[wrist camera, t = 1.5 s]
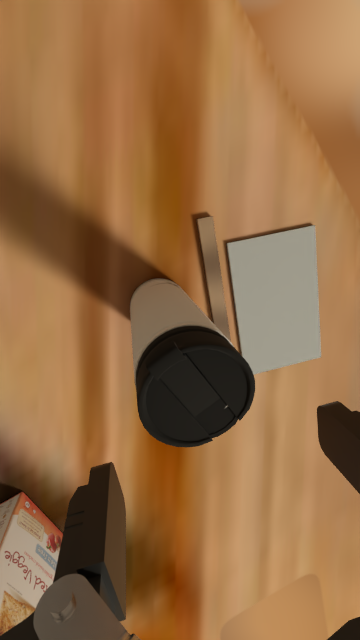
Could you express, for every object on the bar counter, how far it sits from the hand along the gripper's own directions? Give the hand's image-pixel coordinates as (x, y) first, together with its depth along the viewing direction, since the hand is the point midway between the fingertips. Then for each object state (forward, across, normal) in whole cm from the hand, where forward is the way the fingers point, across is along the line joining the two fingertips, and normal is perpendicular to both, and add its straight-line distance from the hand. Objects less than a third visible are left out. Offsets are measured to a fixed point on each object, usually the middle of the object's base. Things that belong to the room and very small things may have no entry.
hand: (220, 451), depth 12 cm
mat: (+24, -13, +3) cm, 27 cm away
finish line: (+24, -6, +3) cm, 25 cm away
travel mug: (+24, 0, 0) cm, 24 cm away
